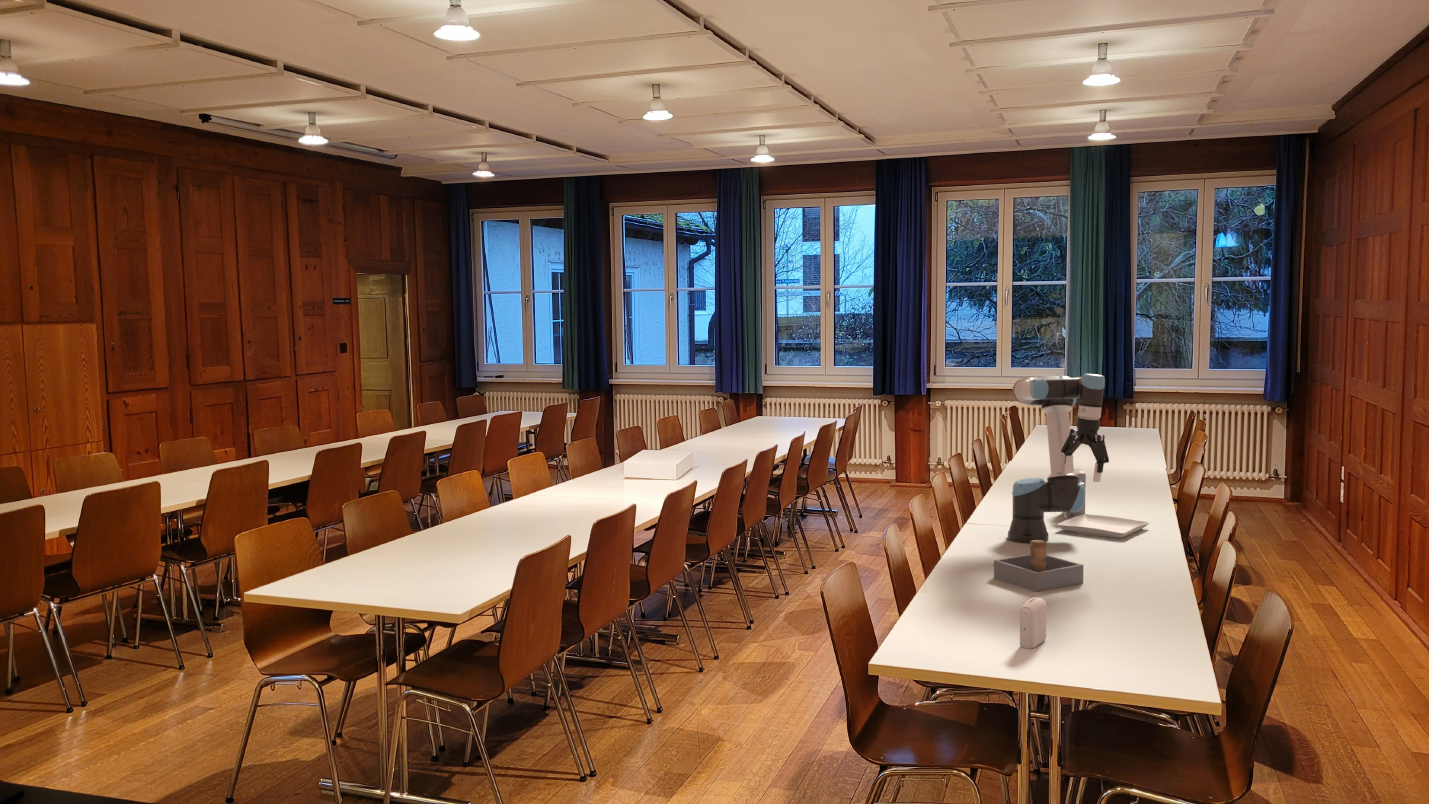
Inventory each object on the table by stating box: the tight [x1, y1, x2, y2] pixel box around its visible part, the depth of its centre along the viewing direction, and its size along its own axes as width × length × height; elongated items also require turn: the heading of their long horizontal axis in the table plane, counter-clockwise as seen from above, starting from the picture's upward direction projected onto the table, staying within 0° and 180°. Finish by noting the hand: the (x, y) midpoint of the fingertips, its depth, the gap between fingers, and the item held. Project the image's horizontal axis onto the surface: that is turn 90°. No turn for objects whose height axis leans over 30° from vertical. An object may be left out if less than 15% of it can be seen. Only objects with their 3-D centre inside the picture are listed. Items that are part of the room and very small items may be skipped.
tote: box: [993, 553, 1084, 593], centre depth 339 cm, size 20×20×6 cm
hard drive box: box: [1061, 468, 1087, 520], centre depth 435 cm, size 16×8×20 cm, turn 168°
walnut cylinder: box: [1029, 540, 1047, 572], centre depth 339 cm, size 5×5×12 cm
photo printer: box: [1019, 597, 1047, 650], centre depth 277 cm, size 10×4×12 cm, turn 140°
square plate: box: [1056, 513, 1150, 539], centre depth 409 cm, size 27×27×4 cm
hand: (1081, 477), depth 361 cm, fingers open, 13 cm apart
